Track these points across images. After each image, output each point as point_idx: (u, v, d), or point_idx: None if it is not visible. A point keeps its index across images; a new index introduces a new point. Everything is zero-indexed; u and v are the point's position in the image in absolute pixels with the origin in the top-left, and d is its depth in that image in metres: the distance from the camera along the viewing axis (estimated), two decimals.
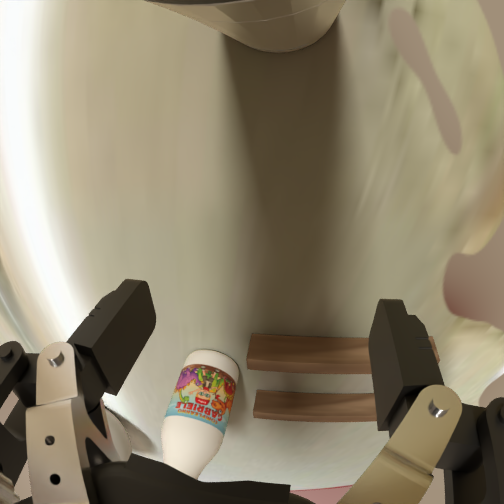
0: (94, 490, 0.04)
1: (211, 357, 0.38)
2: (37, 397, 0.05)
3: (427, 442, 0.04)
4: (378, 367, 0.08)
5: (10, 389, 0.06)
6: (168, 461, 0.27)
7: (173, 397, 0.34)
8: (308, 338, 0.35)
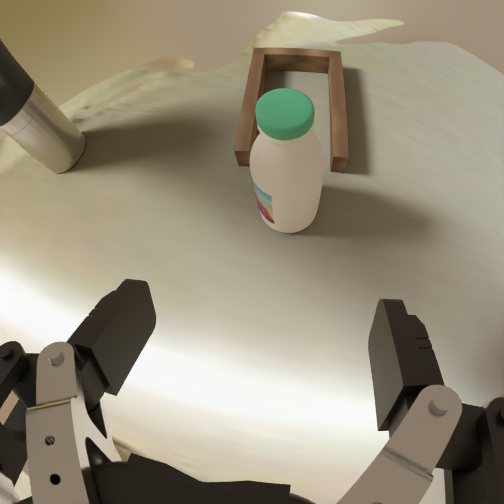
0: (94, 490, 0.04)
1: None
2: (37, 397, 0.05)
3: (427, 442, 0.04)
4: (378, 367, 0.08)
5: (10, 389, 0.06)
6: (262, 142, 0.25)
7: (261, 200, 0.33)
8: None
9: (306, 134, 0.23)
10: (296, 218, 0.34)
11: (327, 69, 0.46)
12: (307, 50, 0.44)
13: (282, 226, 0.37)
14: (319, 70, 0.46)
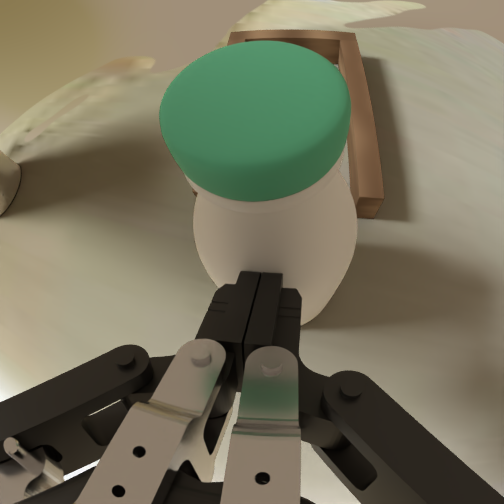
0: None
1: None
2: (156, 391, 0.06)
3: (276, 401, 0.06)
4: None
5: (111, 402, 0.06)
6: (203, 197, 0.10)
7: None
8: None
9: (326, 177, 0.07)
10: None
11: (337, 58, 0.31)
12: (306, 31, 0.29)
13: None
14: None
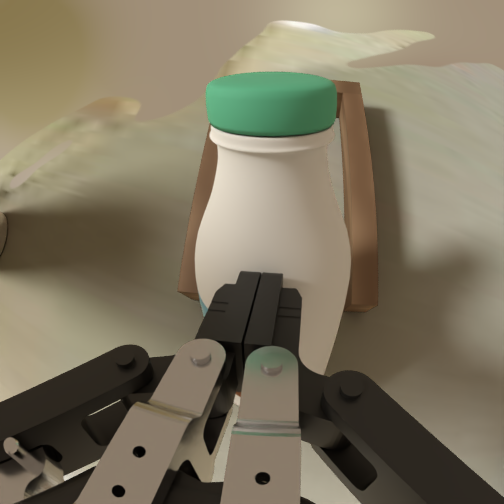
0: None
1: None
2: (156, 391, 0.06)
3: (276, 401, 0.06)
4: None
5: (111, 401, 0.06)
6: (219, 179, 0.11)
7: None
8: None
9: (323, 136, 0.09)
10: None
11: (338, 112, 0.30)
12: None
13: None
14: None
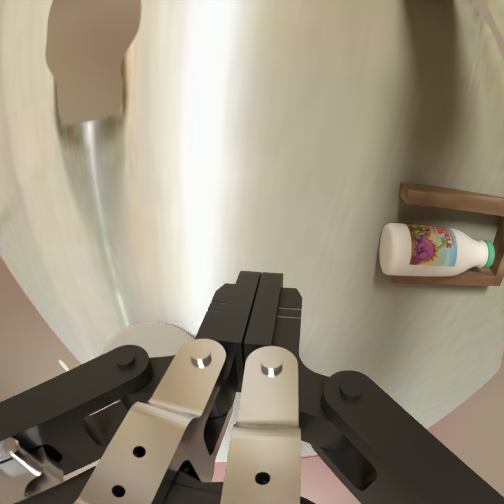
0: None
1: (400, 229, 0.40)
2: (157, 391, 0.06)
3: (276, 401, 0.06)
4: None
5: (111, 401, 0.06)
6: (479, 252, 0.38)
7: (440, 256, 0.38)
8: (440, 187, 0.40)
9: (478, 266, 0.41)
10: (418, 275, 0.41)
11: None
12: None
13: (407, 269, 0.40)
14: None
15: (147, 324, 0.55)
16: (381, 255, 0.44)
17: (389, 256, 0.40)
